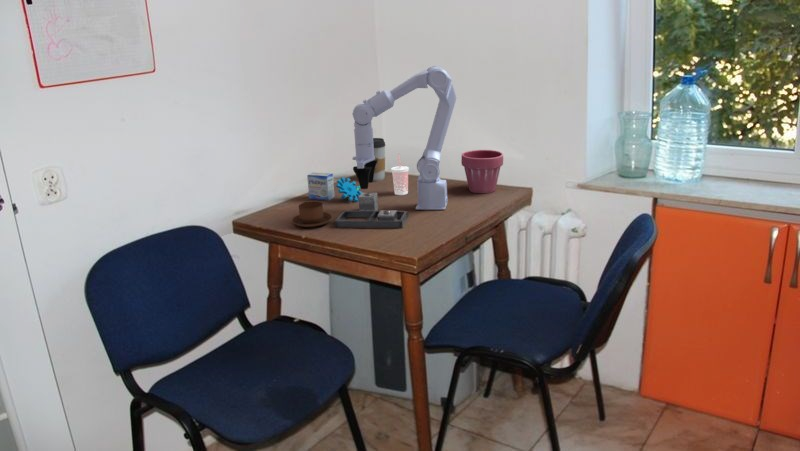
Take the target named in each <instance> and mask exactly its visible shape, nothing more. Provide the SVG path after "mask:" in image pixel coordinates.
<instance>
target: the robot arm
mask: <svg viewBox="0 0 800 451" xmlns="http://www.w3.org/2000/svg"><path fill="white" fill-rule="evenodd" d="M428 86H429V87H430V88H432V89H433V91H434V92H435V94H436V96H437V98H438V105H437V108H436V112H435V115H434V118H433V122H432V125H431V127H430V128H431V129H430V132H429V136H428V140H427V144H426V147H425V149H424V150H423V153H422V154H421V155H422V156H420V158H419V159H418V161H417V162H416V169H417V172H418V173H419V174H418V177H417V178H416V180H417V181H416V182H417V185H416V186H417V187H416V188H417V204H416V206H415V210H418V211H419V210H422V211H423V210H431V211H432V210H441V211H442V210H446V208H447V205H448V183H447V180H446V179H441V178H440V173H441V170H440V162H441V152H442V149H443V146H444V143H445V139H446V136H447V133H448V128H449V126H450V121H451V118H452V116H453V111H454V109H455V104H456V101H457V95H456V92H455V88H454V85H453V80H452V77H451V76H450V75H449V73H448V72H447V71H446V70H445V69H443V68H442V67H440V66H437V65H432V66H429V67H428V68H426V69H424V70H421V71H420V72H418V73H415V74H414V75H413V76H411V77H410V78H408V79H407V80H405V81H403V82H402V83H400V84H399V85H397V86H396V87H394V88H392V89H391V90H384V89H383V90H377V91H376V94H374V95H373V96H371V97H370V98H369V99H364V100H362V103H359V104H357V105H356V106H354V108H353V109H352V118H353V120H354V123H353V128H354V129H353V131H354V145H355V146H354V148H355V156H353V157H352V160H353V161H356V165H355V166H353V167H352V171H353V172H354V174H355V175H356V178H357V180H358V183H359V185H360V187H361V188H360V190H368V188H369V183H373V182H374V181H373V179H374V171H375V167H376V164H377V162H378V160H377V159H375V156H374V144H373V138H374V132H373V131H374V130H373V126H372V120H373V118H374V117H375V118H377V117H378V116H380V115H381V114H384V113H385V112H387V111H388V110H389V109H392V108H393V107H394V105H395V101H396V100H398V99H400V98H402V97H404V96H406V95H407V94H409V93H411V92H413V91H415V90H417V89H429V88H428Z"/></svg>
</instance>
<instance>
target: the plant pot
mask: <svg viewBox="0 0 800 451" xmlns="http://www.w3.org/2000/svg"><path fill="white" fill-rule="evenodd" d="M503 165H504V153H502V152H501V151H498V150H494V149H474V150H473V149H472V150H467V151H464V152H462V153H461V166H462V167H463V168H464V173H465V177H466V181H467V185H468V190H469V191H470V192H471V193H474V194H489V193H493V192H494V191H496V190H497V184H498V180H499V176H500V170H501V167H502V166H503Z"/></svg>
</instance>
